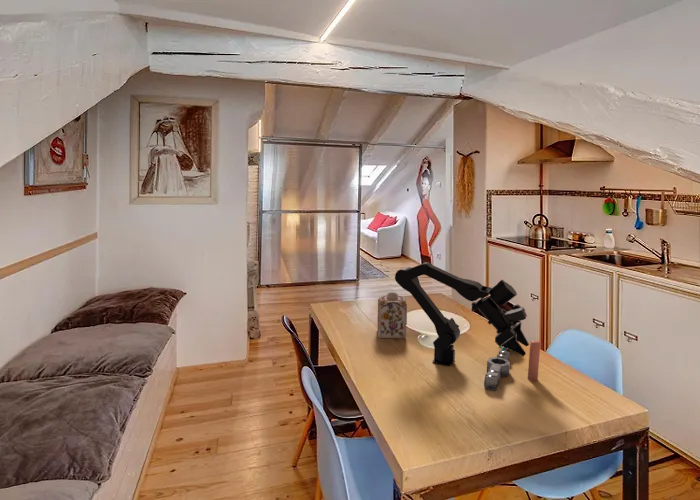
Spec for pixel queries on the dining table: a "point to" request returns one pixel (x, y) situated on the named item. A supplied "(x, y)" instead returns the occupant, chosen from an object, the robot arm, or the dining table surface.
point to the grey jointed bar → (497, 370)
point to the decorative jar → (392, 316)
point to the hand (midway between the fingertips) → (526, 350)
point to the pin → (534, 360)
